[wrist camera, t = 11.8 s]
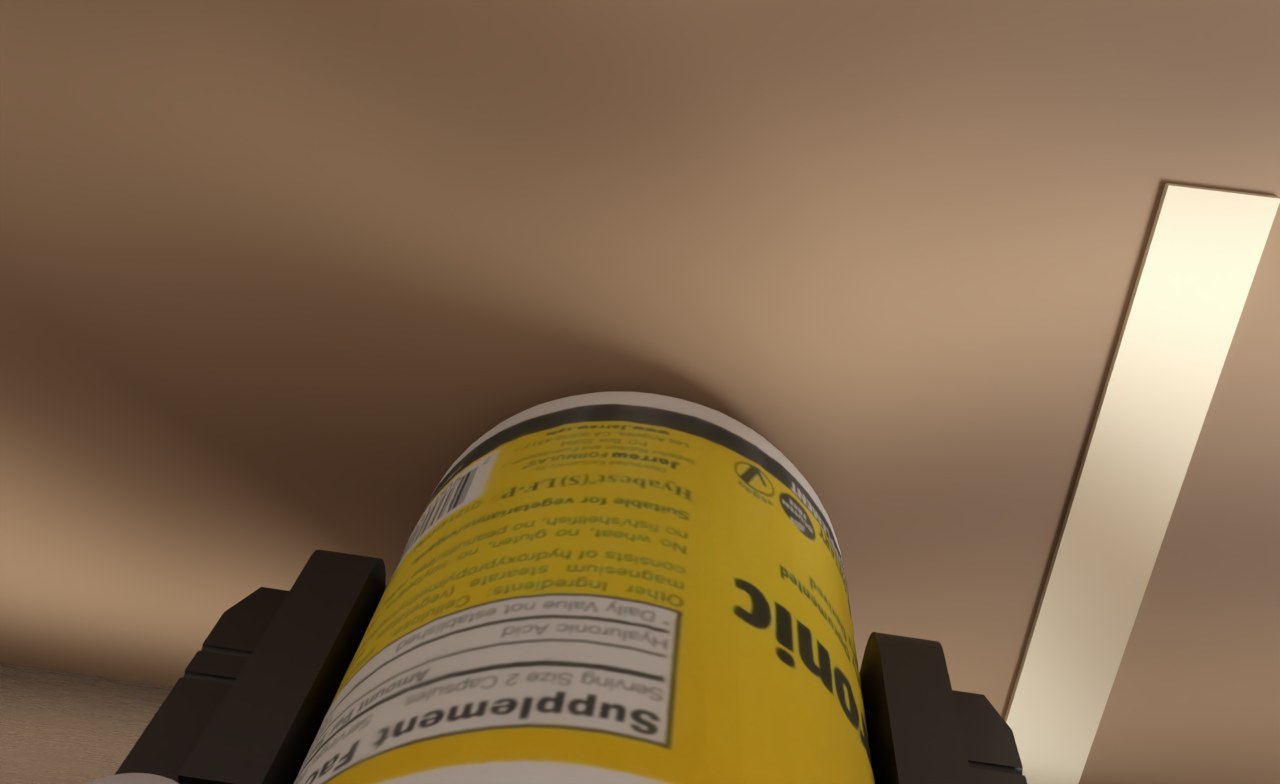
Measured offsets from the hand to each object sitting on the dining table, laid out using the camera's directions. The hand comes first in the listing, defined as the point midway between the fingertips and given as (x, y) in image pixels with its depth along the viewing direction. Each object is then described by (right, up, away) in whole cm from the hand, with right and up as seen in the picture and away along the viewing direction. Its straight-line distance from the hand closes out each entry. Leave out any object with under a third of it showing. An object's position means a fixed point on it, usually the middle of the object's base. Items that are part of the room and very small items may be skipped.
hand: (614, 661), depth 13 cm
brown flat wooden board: (-4, +3, +3) cm, 6 cm away
